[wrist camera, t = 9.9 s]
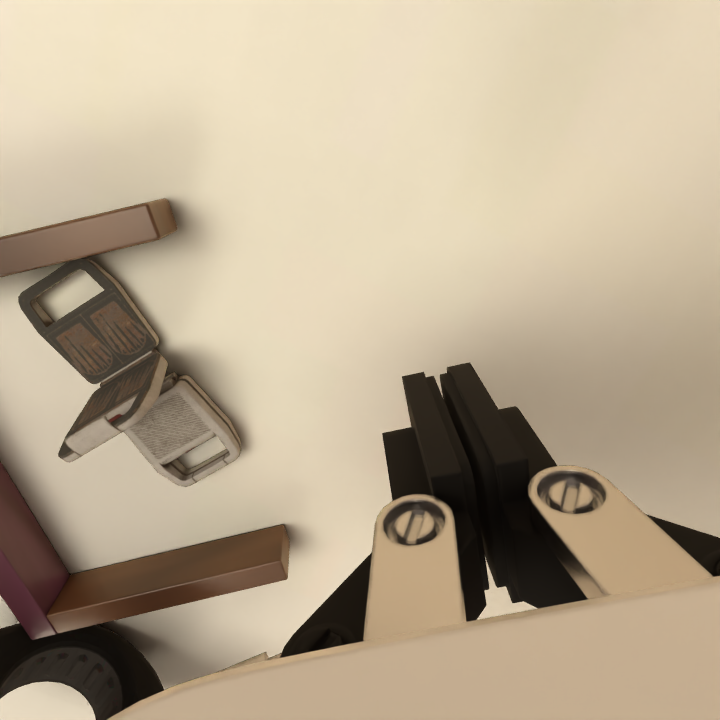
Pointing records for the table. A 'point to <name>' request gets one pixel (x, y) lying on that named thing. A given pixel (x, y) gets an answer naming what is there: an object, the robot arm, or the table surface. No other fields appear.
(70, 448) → the strap clip
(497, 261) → the table surface
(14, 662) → the controller
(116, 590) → the frame
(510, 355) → the table surface
